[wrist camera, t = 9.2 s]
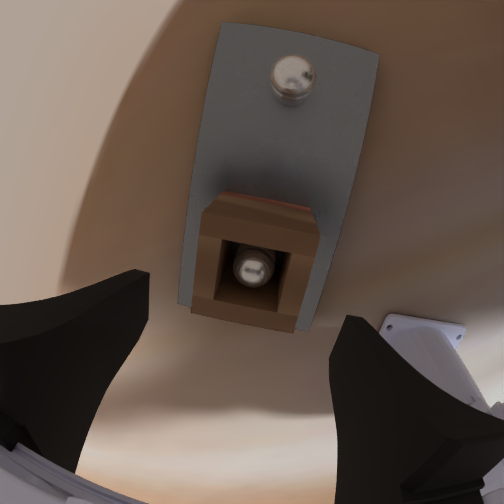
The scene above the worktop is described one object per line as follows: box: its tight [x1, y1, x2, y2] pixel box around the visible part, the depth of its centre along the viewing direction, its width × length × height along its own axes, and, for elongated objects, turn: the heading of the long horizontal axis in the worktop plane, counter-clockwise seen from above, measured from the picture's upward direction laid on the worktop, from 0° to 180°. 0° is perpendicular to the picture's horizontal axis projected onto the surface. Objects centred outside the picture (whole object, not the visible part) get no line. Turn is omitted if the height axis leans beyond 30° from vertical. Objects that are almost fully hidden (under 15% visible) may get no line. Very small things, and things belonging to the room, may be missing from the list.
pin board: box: [178, 22, 380, 331], centre depth 15 cm, size 18×9×6 cm, turn 169°
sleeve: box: [191, 191, 321, 333], centre depth 16 cm, size 5×5×5 cm
